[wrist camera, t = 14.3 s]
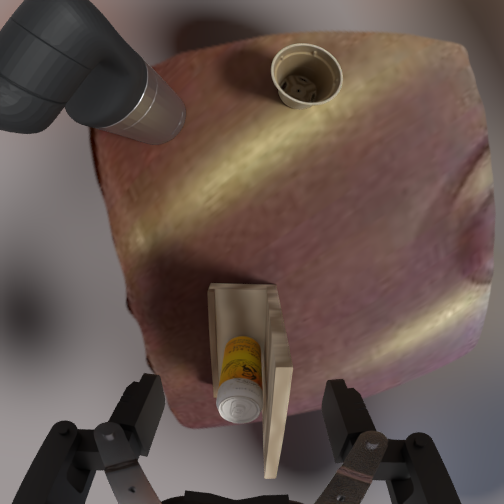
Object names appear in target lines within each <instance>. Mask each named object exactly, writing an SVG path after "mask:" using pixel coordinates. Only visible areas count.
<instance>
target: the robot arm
mask: <svg viewBox="0 0 504 504" xmlns="http://www.w3.org/2000/svg"><path fill="white" fill-rule="evenodd" d="M64 107H65V109H66V112H67V113H68V115H69V116H70V117H71V118H72V119H73V120H74V121H76V122H78V123H79V124H82V125H85V126H89V127H93V128H97V129H100V130H104V131H108V132H111V133H115V134H118V135H121V136H125V137H128V138H131V139H134V140H137V141H140V142H144V143H147V144H152V145H159V144H163V143H166V142H168V141H170V140H171V139H173V138H174V137H175V136H176V135H177V134H178V133H179V132H180V130H181V129H182V127H183V125H184V122H185V118H186V109H185V105H184V103H183V101H182V100H181V99H180V97H179V96H178V95H177V94H176V93H175V92H174V91H173V90H172V89H171V87H170V86H169V85H168V84H167V83H166V82H165V81H164V80H163V79H162V78H161V77H160V76H159V75H158V74H157V73H156V72H155V71H154V69H153V68H152V67H151V66H149V65H148V63H147V62H146V61H144V60H143V58H142V57H141V56H140V55H139V54H138V53H136V52H135V51H134V50H133V49H132V48H131V47H130V46H129V45H128V44H127V43H126V41H125V40H124V39H123V38H122V37H121V36H120V35H119V34H118V32H117V31H116V30H115V29H114V27H113V26H112V25H111V24H110V22H109V21H108V20H107V19H106V18H105V16H104V15H103V14H102V13H101V12H100V11H99V10H98V9H97V8H96V7H95V6H94V5H93V4H92V3H91V2H90V1H89V0H24V2H23V3H22V4H21V5H20V6H19V7H18V9H17V10H16V11H15V12H14V14H13V15H12V16H11V17H10V18H9V20H8V21H7V22H6V24H5V25H4V26H3V28H2V29H1V31H0V130H4V131H8V132H15V133H22V134H32V133H38V132H41V131H43V130H45V129H46V128H47V127H49V126H50V124H51V123H52V122H53V121H54V120H55V119H56V117H57V116H58V115H59V114H60V112H61V111H62V109H63V108H64ZM164 406H165V396H164V392H163V387H162V382H161V378H160V376H159V375H155V374H147V373H144V374H143V376H142V378H141V380H140V382H135V381H134V382H133V383H132V384H130V385H129V386H128V387H127V388H126V390H125V391H124V393H123V396H122V397H121V399H120V401H119V403H118V404H117V406H116V408H115V410H114V412H113V414H112V416H111V417H110V419H109V421H108V422H105V423H102V424H100V425H98V426H97V427H96V428H95V429H94V430H85V429H77V427H76V425H75V424H74V423H72V422H70V421H60V422H57V423H56V424H54V425H53V427H52V429H51V430H50V432H49V434H48V435H47V437H46V439H45V440H44V442H43V444H42V446H41V448H40V449H39V451H38V453H37V455H36V457H35V458H34V460H33V462H32V464H31V466H30V468H29V470H28V472H27V474H26V475H25V478H24V479H23V481H22V483H21V486H20V488H19V490H18V492H17V494H16V496H15V498H14V500H13V502H12V504H85V501H86V498H87V495H88V493H89V490H90V487H91V484H92V481H93V478H94V476H95V473H96V470H104V471H105V474H106V476H107V479H108V481H109V484H110V486H111V488H112V491H113V493H114V495H115V497H116V499H117V501H118V504H303V503H300V502H297V501H291V500H289V497H288V495H263V496H258V497H253V498H248V499H241V500H233V499H229V498H225V497H221V496H218V495H214V494H211V493H202V492H194V491H185V495H184V496H179V497H174V498H170V499H167V500H164V501H162V502H161V501H160V500H159V498H158V496H157V495H156V493H155V491H154V490H153V488H152V486H151V484H150V483H149V481H148V479H147V477H146V476H145V474H144V472H143V470H142V468H141V466H140V465H139V463H138V458H139V456H140V455H142V456H146V457H147V456H148V453H149V450H150V447H151V444H152V441H153V438H154V436H155V433H156V430H157V427H158V424H159V421H160V418H161V416H162V413H163V410H164ZM322 414H323V418H324V422H325V425H326V429H327V433H328V436H329V441H330V445H331V448H332V452H333V456H334V460H335V463H340V462H343V464H342V466H341V467H340V468H339V469H338V470H337V472H336V473H335V475H334V476H333V478H332V479H331V481H330V482H329V484H328V485H327V487H326V488H325V489H324V491H323V492H322V494H321V495H320V496H319V497H318V499H317V500H316V502H315V503H314V504H360V503H361V501H362V499H363V498H364V496H365V494H366V492H367V490H368V488H369V487H370V485H371V483H372V480H386V484H387V487H388V491H389V495H390V498H391V502H392V504H461V502H460V499H459V497H458V495H457V493H456V490H455V488H454V485H453V483H452V481H451V478H450V476H449V474H448V472H447V469H446V467H445V465H444V463H443V461H442V459H441V456H440V454H439V452H438V450H437V448H436V446H435V444H434V442H433V440H432V438H431V437H430V436H429V435H427V434H425V433H420V432H418V433H413V434H411V435H410V436H408V437H407V439H406V440H391V439H387V437H386V436H385V435H384V434H383V433H381V432H378V431H376V429H375V426H374V424H373V422H372V419H371V417H370V415H369V413H368V410H367V409H366V406H365V404H364V401H363V399H362V397H361V395H360V393H358V392H357V391H356V390H355V389H354V388H348V389H347V386H346V384H345V381H344V380H343V379H336V380H328V381H327V383H326V388H325V392H324V396H323V401H322Z"/></svg>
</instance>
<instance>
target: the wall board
mask: <svg viewBox="0 0 504 504" xmlns="http://www.w3.org/2000/svg"><path fill="white" fill-rule="evenodd" d="M207 293H208V316H209V336H210V352H211V367H212V381H213V393H214V398H217V394H218V388H219V381H220V375H221V369H222V363H223V356H224V350H225V346H226V344H227V343H228V341H230V340H231V339H233V338H235V337H239V336H246V337H250V338H252V339H254V340H255V341H257V343H258V344H259V345H260V348H261V363H262V387H263V408H262V416H263V446H264V476H265V479H268V478H269V479H270V478H276V475H277V469H278V463H279V458H280V452H281V447H282V440H283V434H284V428H285V422H286V415H287V408H288V401H289V394H290V387H291V379H292V371H293V365H292V360H291V355H290V350H289V345H288V340H287V335H286V330H285V325H284V320H283V316H282V311H281V306H280V301H279V296H278V292H277V287H276V285H271V284H223V283H211V284H210V286H209V289H208V291H207Z"/></svg>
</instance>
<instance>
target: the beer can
mask: <svg viewBox="0 0 504 504" xmlns="http://www.w3.org/2000/svg"><path fill="white" fill-rule="evenodd" d="M216 405H217V408H218V410H219V413H220V415H221V416H222V417H223V418H224V419H226V420H228V421H230V422H233V423H248V422H251V421H253V420H255V419H256V418H257V417H258V416H259V414H260V412H261V410H262V408H263V387H262V363H261V348H260V345H259V344H258V343H257V341H255V340H254V339H252V338H250V337H246V336H239V337H235V338H233V339H231V340H230V341H228V343H227V344H226V346H225V350H224V356H223V363H222V369H221V375H220V381H219V388H218V394H217V401H216Z"/></svg>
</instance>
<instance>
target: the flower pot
mask: <svg viewBox="0 0 504 504" xmlns="http://www.w3.org/2000/svg"><path fill="white" fill-rule="evenodd" d="M271 76H272V80H273V82H274V84H275V86H276V87H277V89H278V93H279V96H280V98H281V100H282V101H283V102H284V103H285V104H286V105H287V106H289V107H291V108H294V109H299V110H300V109H307V108H309V107H311V106H312V105H320V104H324V103H327V102H329V101H330V100H332V99H333V98H334V97H335V96H336V95H337V94H338V93H339V91H340V89H341V87H342V83H343V74H342V70H341V67H340V65H339V63H338V62H337V60H336V59H335V58H334V57H333V56H332V55H331V54H330V53H329V52H328V51H326V50H324V49H323V48H321V47H318V46H315V45H312V44H304V43H302V44H301V43H300V44H293V45H290V46H287V47H285V48H283V49H282V50H281V51H279V52H278V53H277V55H276V56H275V57H274V59H273V62H272V65H271ZM300 78H302V79H304V80H306V82H305V81H302V80H300ZM284 83H286V86H285V89H282V86H283V84H284ZM297 90H300V92H298V91H297ZM313 94H314V95H315V98H314V100H313V101H311V98H312V96H313Z"/></svg>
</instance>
